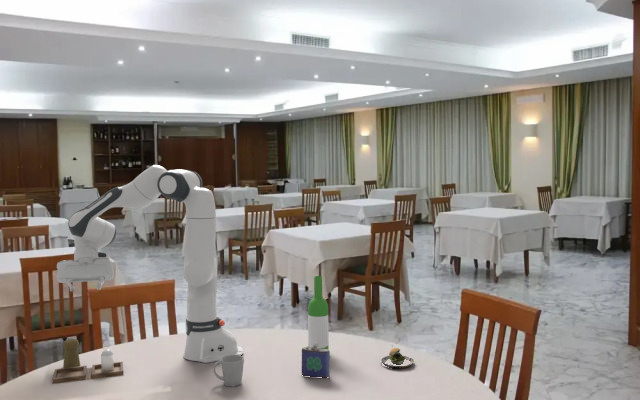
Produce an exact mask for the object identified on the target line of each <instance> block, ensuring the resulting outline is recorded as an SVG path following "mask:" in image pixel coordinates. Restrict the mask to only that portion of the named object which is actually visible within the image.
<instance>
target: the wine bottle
mask: <svg viewBox="0 0 640 400" xmlns="http://www.w3.org/2000/svg"><path fill="white" fill-rule="evenodd" d="M313 280H314V284H313V285H314V286H313V287H314V288H313V289H314V291H313V292H314V293H313V298H311V300H310V301H309V302H308V306H307V307H308V308H307V310H308V311H307V312H308V313H307V314H308V315H307V319H308V320H307V325H308V326H307V334H308V335H307V337H308V338H307V339H308V340H307V343H308V345H307V346H308V347H309V348H310V347H313V346H314V345H313V344H318V345H317V349H328V350H329V349H330V348H329V347H330V346H329V344H330V342H329V304H328V301H327V299H325V298H324V297H323V277H322V276H321V275H315V276H314V278H313ZM329 351H330V350H329Z"/></svg>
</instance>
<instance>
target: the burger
mask: <svg viewBox="0 0 640 400" xmlns="http://www.w3.org/2000/svg"><path fill="white" fill-rule="evenodd" d="M391 347H392V348H391V349H390V351H389V352H388V355H387V356H383V357H382V358H381V363H383V364H384V365H385V366H387V367H389V368H393V369H394V368H398V367H399V368H401V367H402V368H406V367H407V368H408V367H409V366H411V365H412V364H414V359H413V358H411V357H408V356H406V355H402V353H401V349H400V348H397V347H393V345H391ZM388 359H390V360H391V362H392V363H393V364H396V365H401V364H403V362H404V360H405V359H406V360H409V361H410V362H411V364H410V365H407V366H393V365H391V364H390V365H388V364H385V362H386V361H387V360H388Z"/></svg>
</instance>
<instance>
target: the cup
mask: <svg viewBox="0 0 640 400" xmlns="http://www.w3.org/2000/svg"><path fill="white" fill-rule="evenodd" d="M244 363H245V358H244V356H243V355H242V356H241V355H227V356H224V357H222V358H221V360H218V361H215V362H214V365H213V373H214V375H215V377H216V378H217V379H218V380H220V381H223V384H224V385H225V386H226V387H236V386H237V387H238V386H240V385H241V384H242V382H243V381H242V380H243V372H244ZM217 365H221V370H222V376H221V375H219V374H218V373H217V372H216V367H217ZM239 384H240V385H239Z"/></svg>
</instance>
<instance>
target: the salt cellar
mask: <svg viewBox="0 0 640 400" xmlns="http://www.w3.org/2000/svg"><path fill="white" fill-rule="evenodd" d="M114 358H115V357H114V352H113V350H112V349H108V348H107V349H104V350H103V351H102V352H101V353H100V360H101V361H100V364H101V369H102V373H103V372H112V371H114V362H115V360H114Z"/></svg>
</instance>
